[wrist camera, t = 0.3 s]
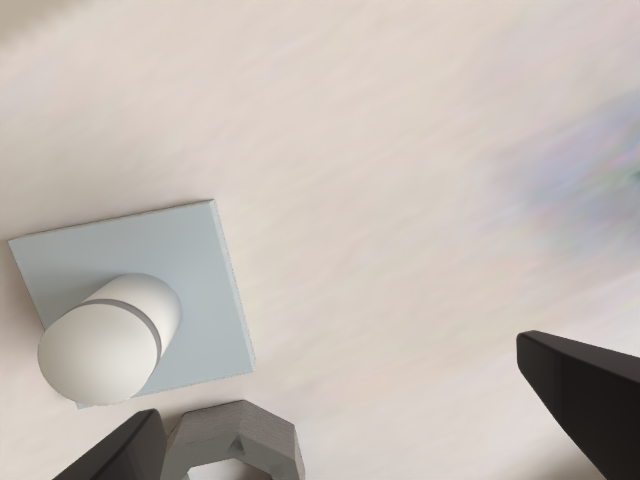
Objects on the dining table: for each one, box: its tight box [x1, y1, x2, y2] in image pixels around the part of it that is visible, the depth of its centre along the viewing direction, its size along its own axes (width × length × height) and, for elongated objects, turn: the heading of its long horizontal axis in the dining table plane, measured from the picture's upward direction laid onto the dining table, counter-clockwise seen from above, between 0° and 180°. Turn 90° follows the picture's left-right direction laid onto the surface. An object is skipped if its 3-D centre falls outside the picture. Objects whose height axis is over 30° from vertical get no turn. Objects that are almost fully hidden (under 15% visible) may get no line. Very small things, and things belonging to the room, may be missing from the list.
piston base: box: [7, 199, 255, 409], centre depth 19 cm, size 11×11×6 cm
